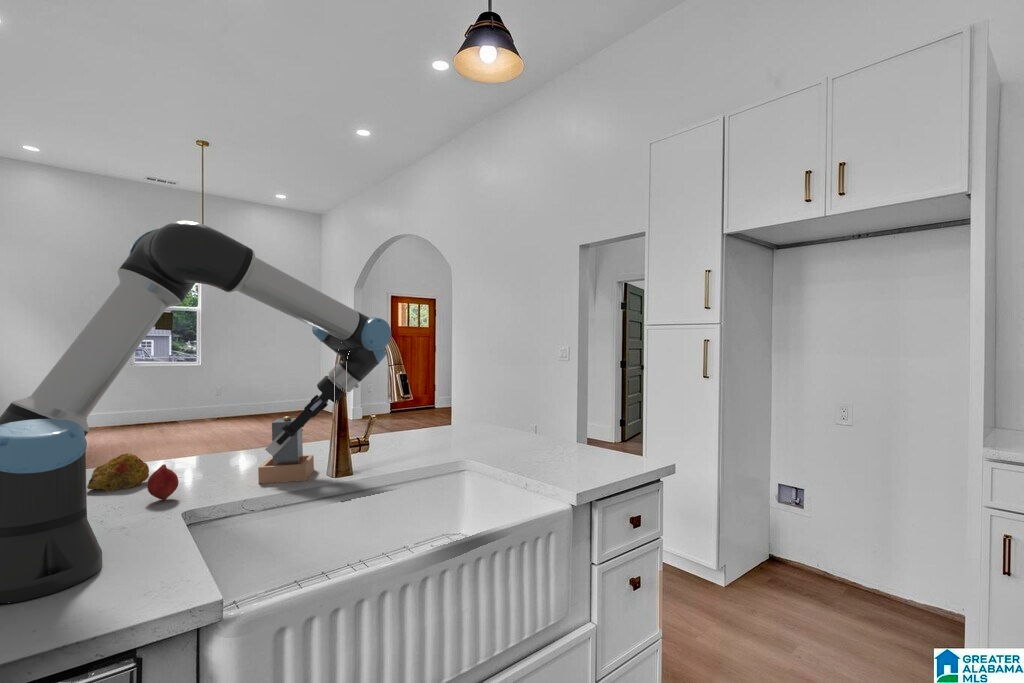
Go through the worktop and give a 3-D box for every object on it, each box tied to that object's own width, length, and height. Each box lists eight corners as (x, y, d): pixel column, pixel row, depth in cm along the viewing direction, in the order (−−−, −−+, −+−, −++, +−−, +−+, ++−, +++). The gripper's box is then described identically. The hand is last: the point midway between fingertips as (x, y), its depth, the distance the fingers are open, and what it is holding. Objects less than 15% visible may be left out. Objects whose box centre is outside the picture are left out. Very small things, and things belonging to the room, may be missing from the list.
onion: (142, 505, 111) (141, 468, 111) (153, 497, 117) (153, 462, 117) (173, 502, 113) (172, 466, 113) (182, 495, 118) (182, 460, 118)
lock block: (298, 464, 131) (297, 418, 131) (272, 466, 130) (271, 419, 130) (302, 459, 137) (301, 414, 137) (278, 460, 136) (277, 415, 135)
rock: (113, 509, 122) (76, 482, 119) (118, 505, 129) (82, 480, 126) (155, 471, 127) (120, 444, 124) (157, 469, 134) (124, 444, 131)
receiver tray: (305, 480, 129) (305, 464, 129) (258, 483, 127) (258, 467, 127) (313, 469, 140) (313, 454, 140) (270, 472, 138) (270, 457, 137)
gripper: (344, 398, 127) (274, 468, 124) (352, 389, 145) (291, 451, 142) (321, 377, 126) (250, 447, 123) (332, 371, 144) (270, 432, 141)
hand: (272, 449), depth 132 cm, fingers closed on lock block, 6 cm apart
